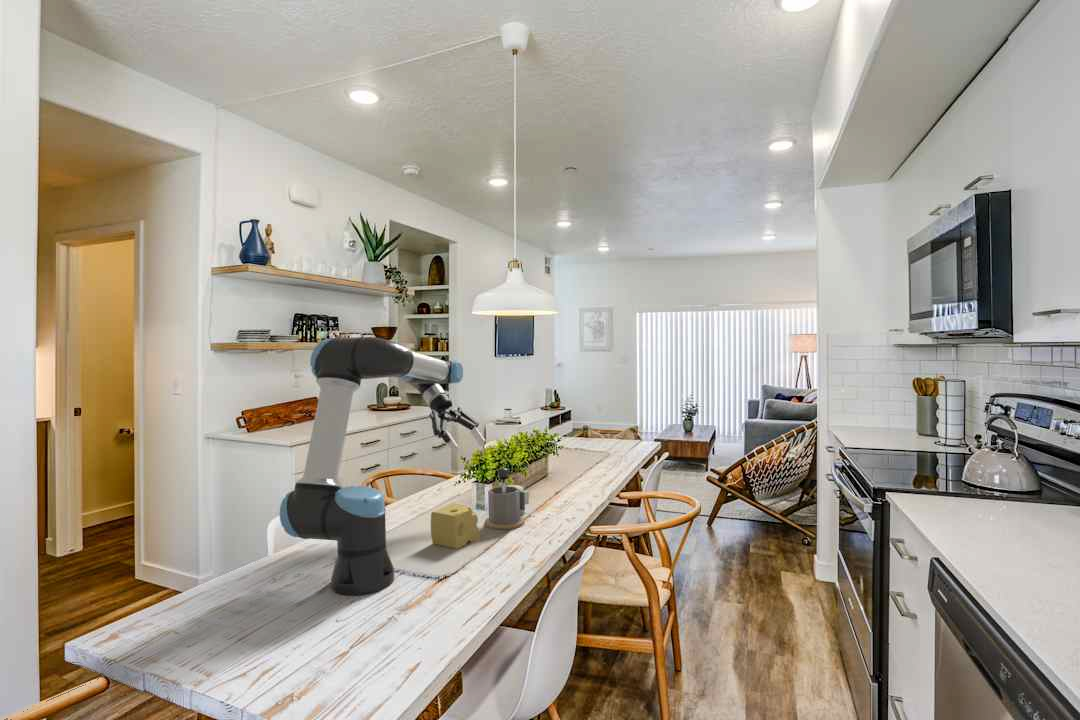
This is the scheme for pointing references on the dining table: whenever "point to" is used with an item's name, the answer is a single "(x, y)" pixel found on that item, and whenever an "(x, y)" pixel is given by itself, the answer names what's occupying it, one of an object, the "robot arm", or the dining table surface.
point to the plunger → (503, 477)
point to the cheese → (454, 526)
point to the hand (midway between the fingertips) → (469, 446)
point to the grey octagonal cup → (505, 508)
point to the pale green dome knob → (526, 495)
